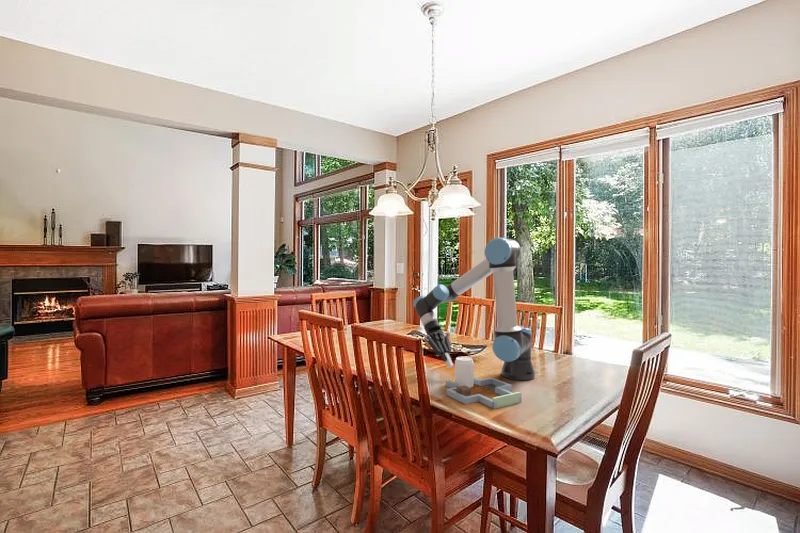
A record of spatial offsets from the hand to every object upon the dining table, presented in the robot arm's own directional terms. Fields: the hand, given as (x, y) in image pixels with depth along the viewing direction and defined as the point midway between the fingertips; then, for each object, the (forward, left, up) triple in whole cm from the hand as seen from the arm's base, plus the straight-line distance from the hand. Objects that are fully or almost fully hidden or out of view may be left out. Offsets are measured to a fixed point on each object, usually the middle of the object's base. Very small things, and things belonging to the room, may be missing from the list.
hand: (450, 366), depth 178 cm
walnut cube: (-8, +21, -6) cm, 23 cm away
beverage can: (-7, +6, -7) cm, 11 cm away
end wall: (-25, +24, -6) cm, 35 cm away
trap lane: (-14, +14, -6) cm, 21 cm away
